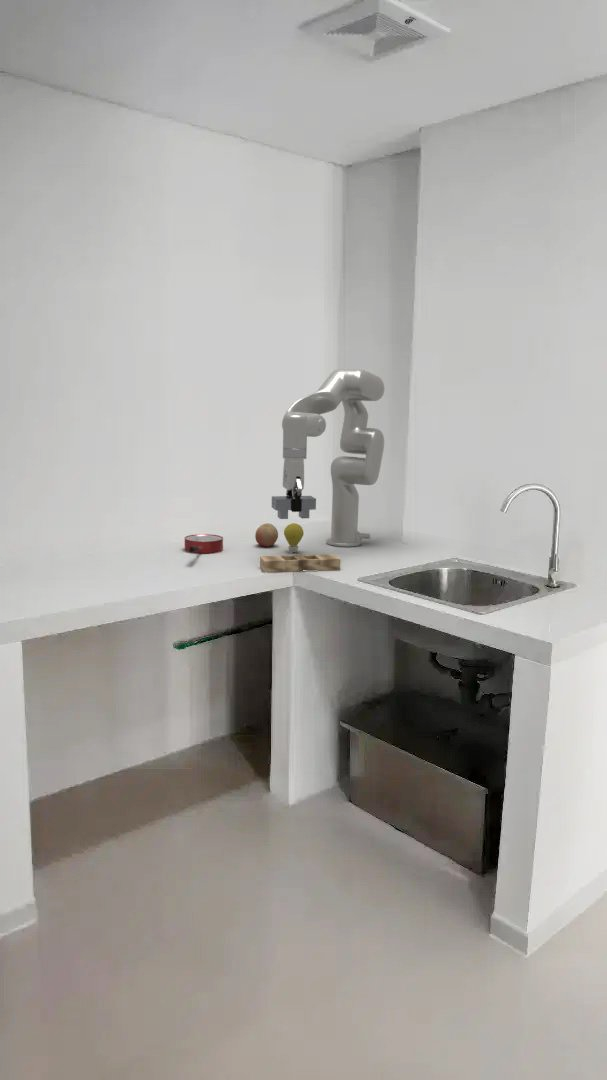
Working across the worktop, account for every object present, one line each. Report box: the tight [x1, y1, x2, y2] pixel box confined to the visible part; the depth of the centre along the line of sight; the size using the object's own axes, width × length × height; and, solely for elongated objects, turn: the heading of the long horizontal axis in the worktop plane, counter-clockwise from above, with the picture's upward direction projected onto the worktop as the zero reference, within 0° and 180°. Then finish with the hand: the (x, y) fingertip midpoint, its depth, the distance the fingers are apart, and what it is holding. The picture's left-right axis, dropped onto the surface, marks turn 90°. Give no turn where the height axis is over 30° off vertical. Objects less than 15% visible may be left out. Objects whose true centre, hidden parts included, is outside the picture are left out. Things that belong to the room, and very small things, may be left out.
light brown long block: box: [259, 553, 341, 573], centre depth 247 cm, size 24×7×4 cm, turn 105°
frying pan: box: [184, 533, 224, 555], centre depth 261 cm, size 32×13×6 cm, turn 4°
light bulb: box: [283, 522, 304, 553], centre depth 271 cm, size 7×7×10 cm
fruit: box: [254, 522, 279, 548], centre depth 279 cm, size 8×8×8 cm
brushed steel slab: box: [271, 495, 317, 520], centre depth 254 cm, size 13×6×6 cm, turn 105°
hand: (293, 509), depth 254 cm, fingers closed on brushed steel slab, 6 cm apart
